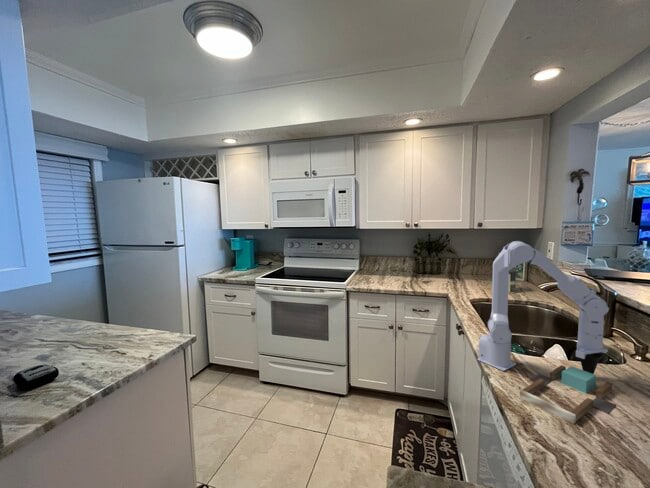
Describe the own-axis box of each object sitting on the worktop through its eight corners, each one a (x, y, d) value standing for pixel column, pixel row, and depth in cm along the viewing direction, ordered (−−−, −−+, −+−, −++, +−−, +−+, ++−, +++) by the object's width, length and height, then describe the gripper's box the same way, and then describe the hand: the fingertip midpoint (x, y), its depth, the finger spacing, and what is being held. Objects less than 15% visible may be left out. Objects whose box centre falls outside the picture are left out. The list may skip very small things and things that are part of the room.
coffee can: (511, 289, 192) (511, 269, 191) (518, 293, 182) (518, 272, 181) (494, 289, 194) (495, 269, 193) (500, 293, 184) (501, 272, 183)
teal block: (561, 383, 88) (561, 371, 87) (571, 378, 90) (571, 366, 90) (585, 394, 82) (586, 381, 82) (595, 387, 85) (596, 375, 85)
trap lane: (509, 392, 84) (509, 385, 84) (550, 366, 97) (550, 361, 96) (589, 431, 68) (589, 424, 68) (626, 395, 81) (626, 388, 80)
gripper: (598, 342, 81) (595, 386, 83) (616, 331, 88) (614, 371, 90) (567, 334, 88) (566, 375, 89) (587, 324, 95) (585, 362, 96)
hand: (588, 373), depth 90 cm, fingers closed
